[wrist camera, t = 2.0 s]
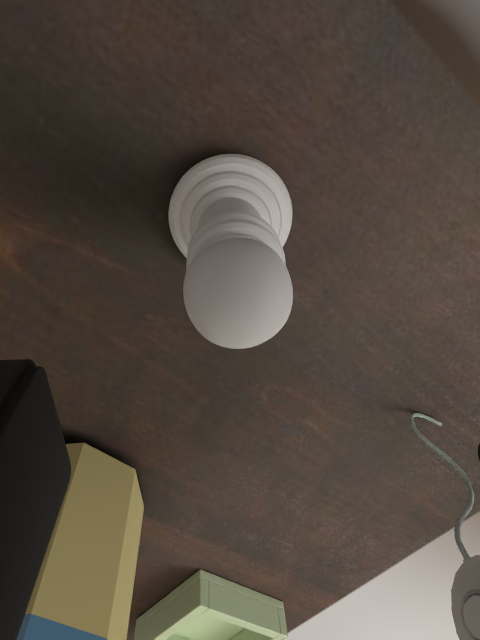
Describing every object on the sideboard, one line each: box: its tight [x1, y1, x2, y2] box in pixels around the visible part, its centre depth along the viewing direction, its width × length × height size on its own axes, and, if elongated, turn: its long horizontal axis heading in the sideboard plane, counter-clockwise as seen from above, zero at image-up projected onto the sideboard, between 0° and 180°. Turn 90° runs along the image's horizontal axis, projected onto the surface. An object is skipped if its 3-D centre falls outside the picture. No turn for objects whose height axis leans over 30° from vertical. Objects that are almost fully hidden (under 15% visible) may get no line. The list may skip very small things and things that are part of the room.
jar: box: [17, 443, 144, 640], centre depth 21 cm, size 9×9×15 cm
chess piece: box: [168, 154, 293, 349], centre depth 16 cm, size 5×5×9 cm
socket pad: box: [134, 569, 288, 640], centre depth 36 cm, size 9×9×3 cm
